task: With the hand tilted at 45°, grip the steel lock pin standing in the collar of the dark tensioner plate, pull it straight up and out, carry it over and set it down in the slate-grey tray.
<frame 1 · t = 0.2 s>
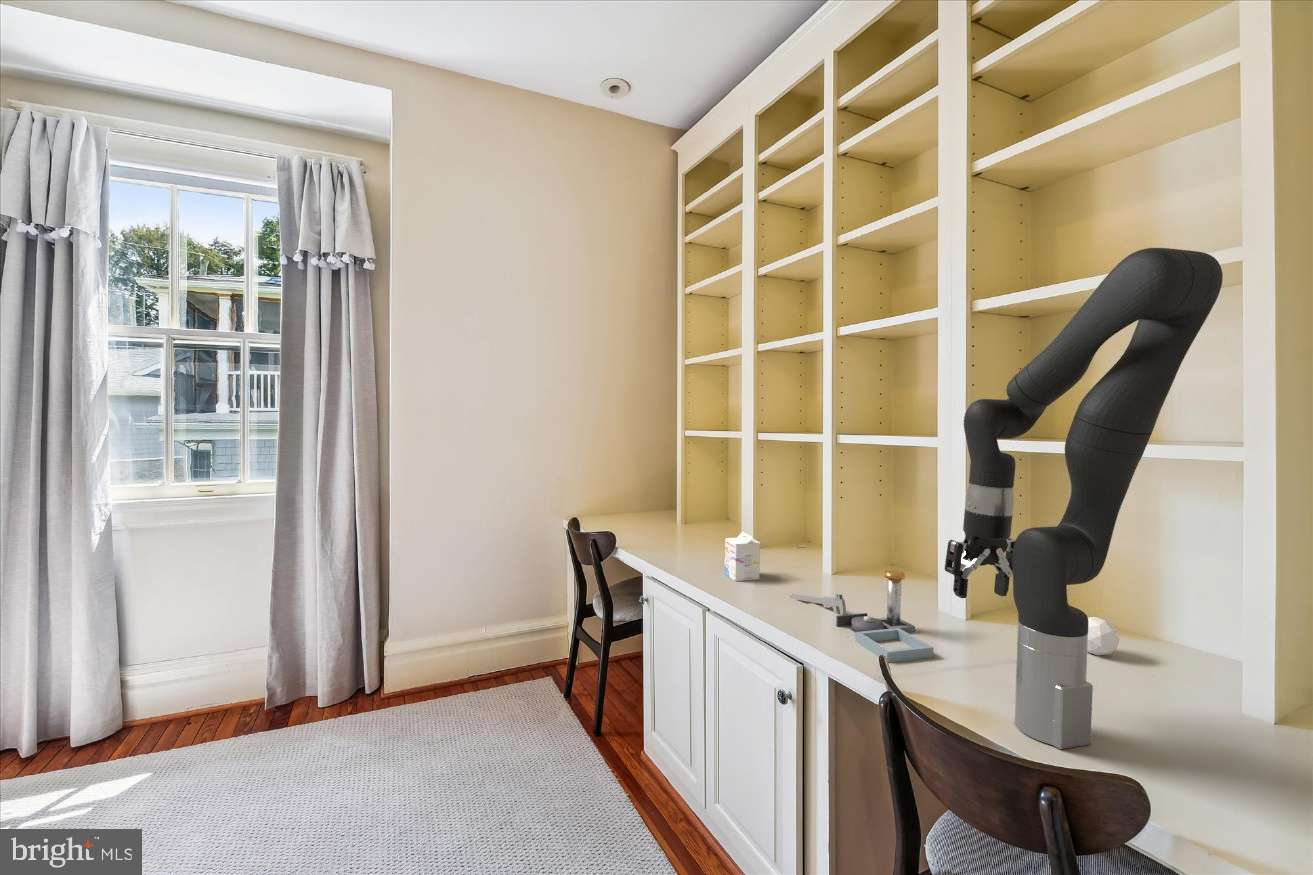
hand: (980, 595, 104), 18 cm above the table, tool pointing down, fingers open, 8 cm apart
lock pin: (893, 627, 134), point 1 cm above the table, touching tensioner plate
tray: (892, 653, 121), on the table
geometric ball: (1095, 653, 122), on the table
ink box: (741, 577, 178), on the table
caliper: (815, 609, 150), on the table
tensioner plate: (880, 633, 133), on the table
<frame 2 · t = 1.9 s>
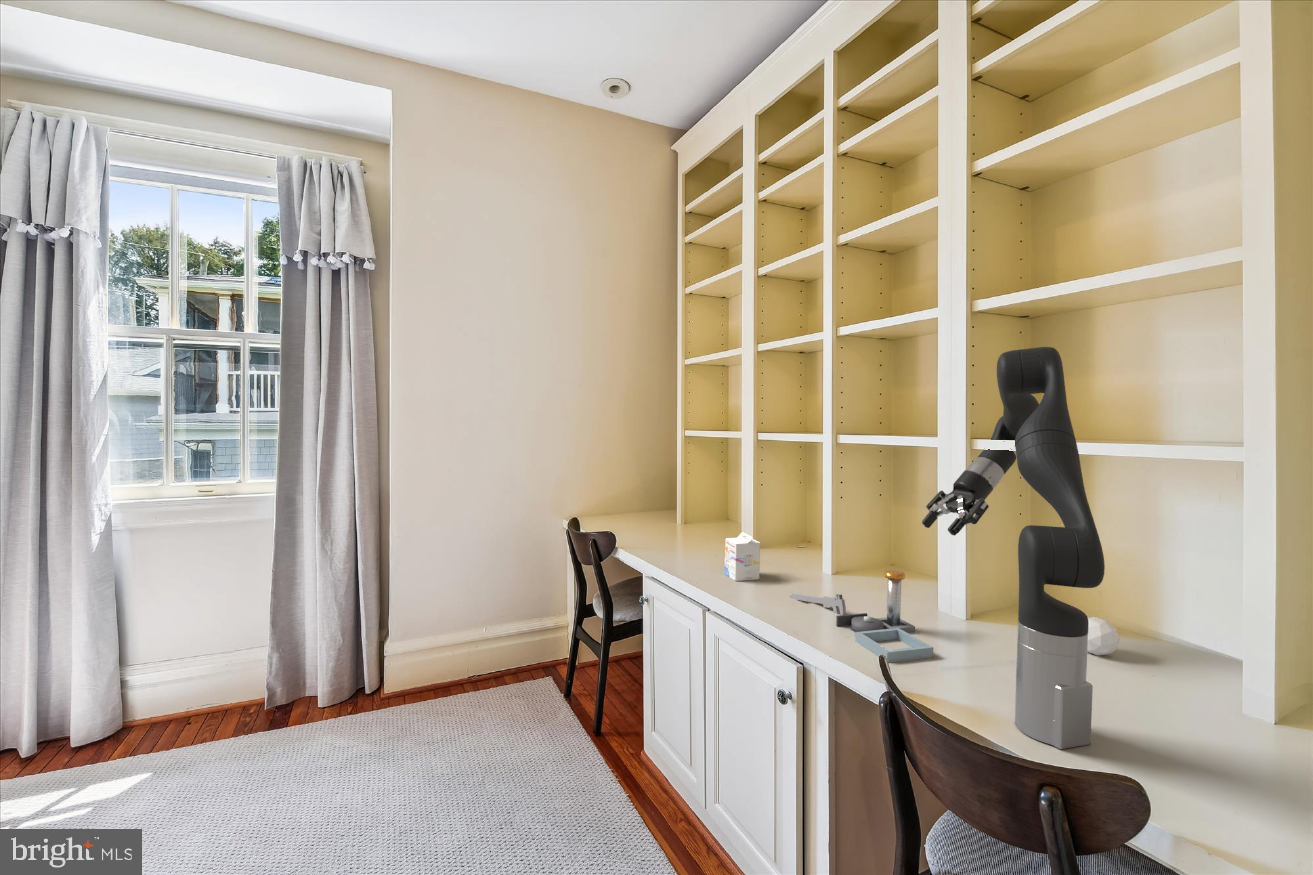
hand: (937, 529, 135), 24 cm above the table, tool tilted 45°, fingers open, 8 cm apart
nothing on the table moved.
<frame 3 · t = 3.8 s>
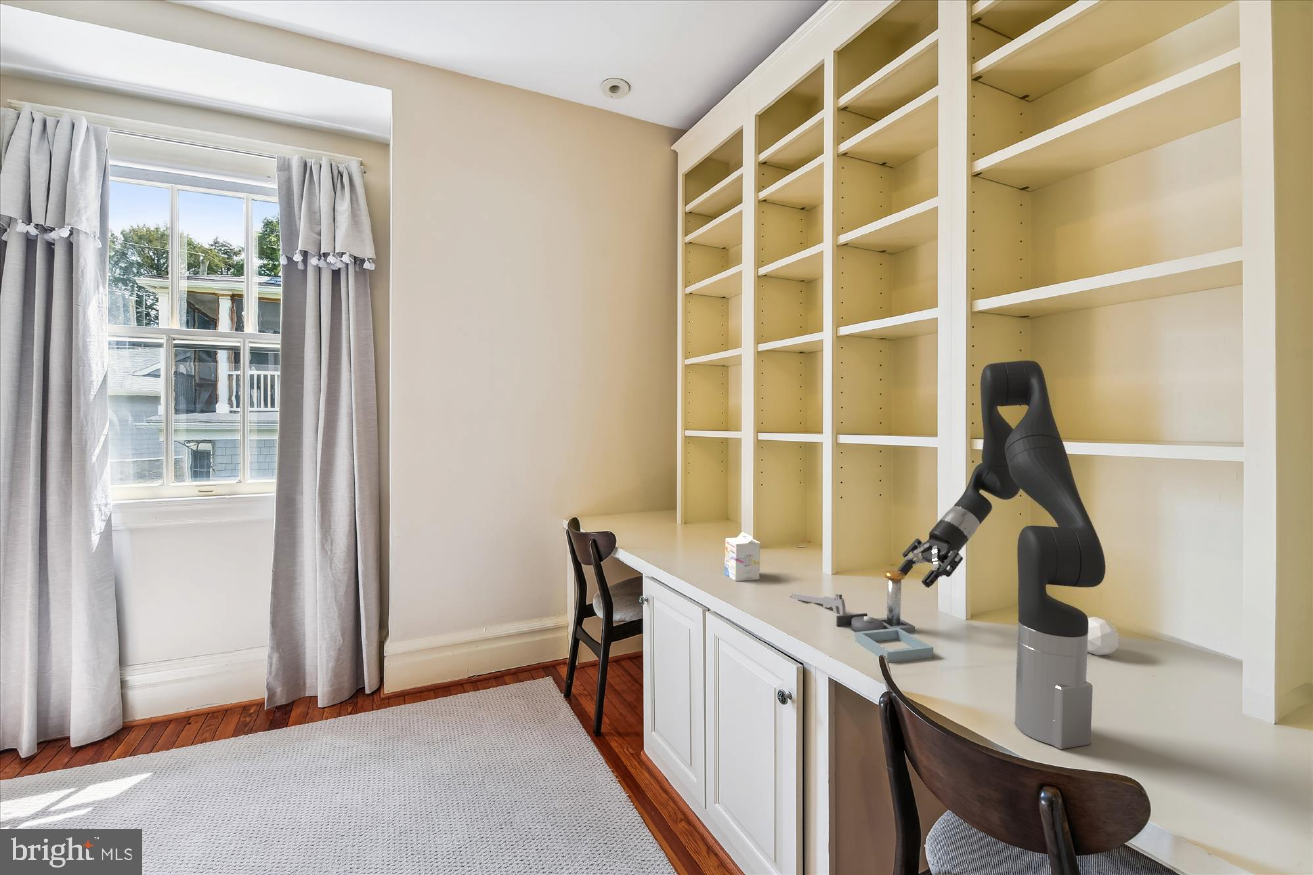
hand: (912, 579, 134), 12 cm above the table, tool tilted 45°, fingers open, 8 cm apart
nothing on the table moved.
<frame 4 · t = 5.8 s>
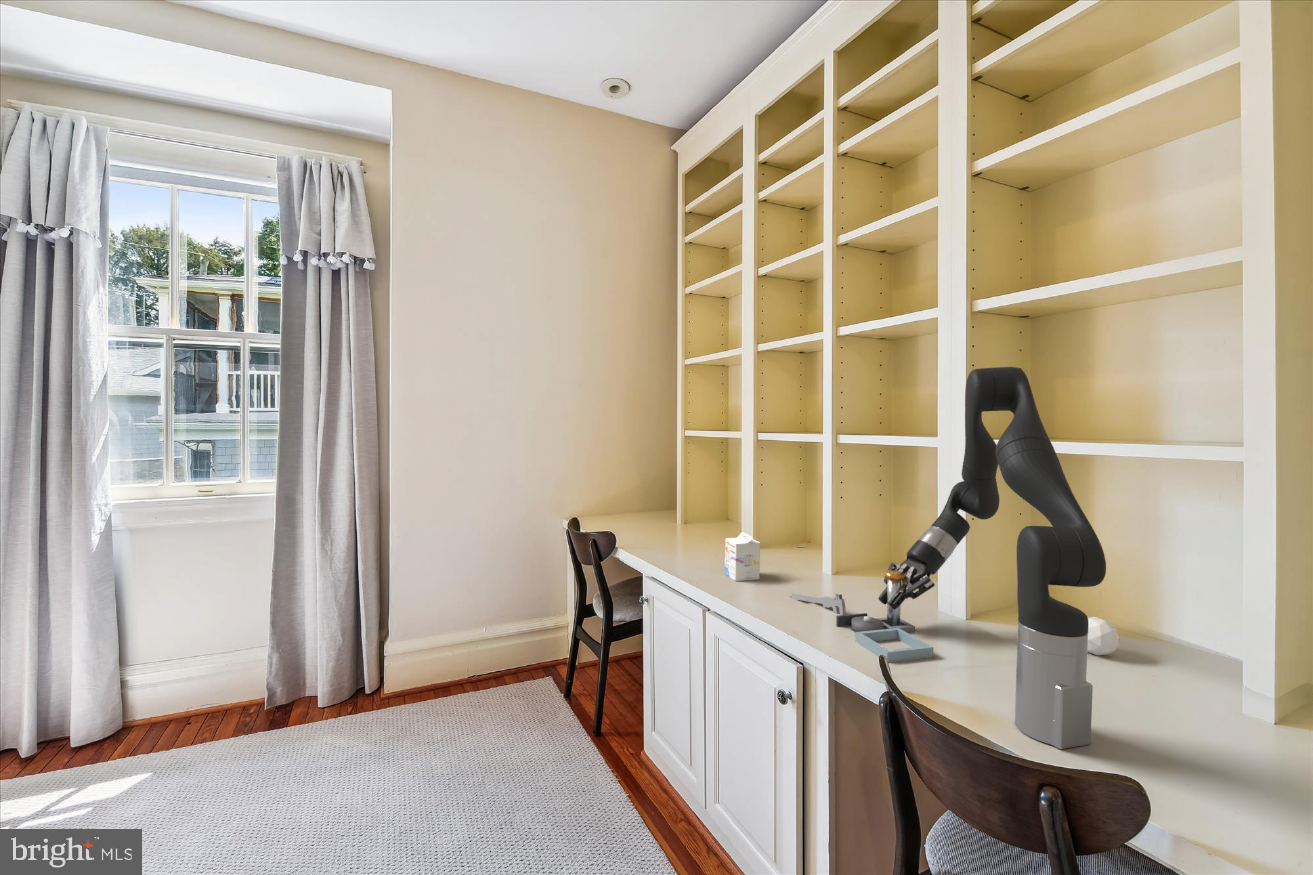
hand: (886, 604, 133), 7 cm above the table, tool tilted 45°, fingers closed on lock pin, 3 cm apart
lock pin: (893, 627, 134), point 1 cm above the table, touching gripper, tensioner plate
everything else where it was.
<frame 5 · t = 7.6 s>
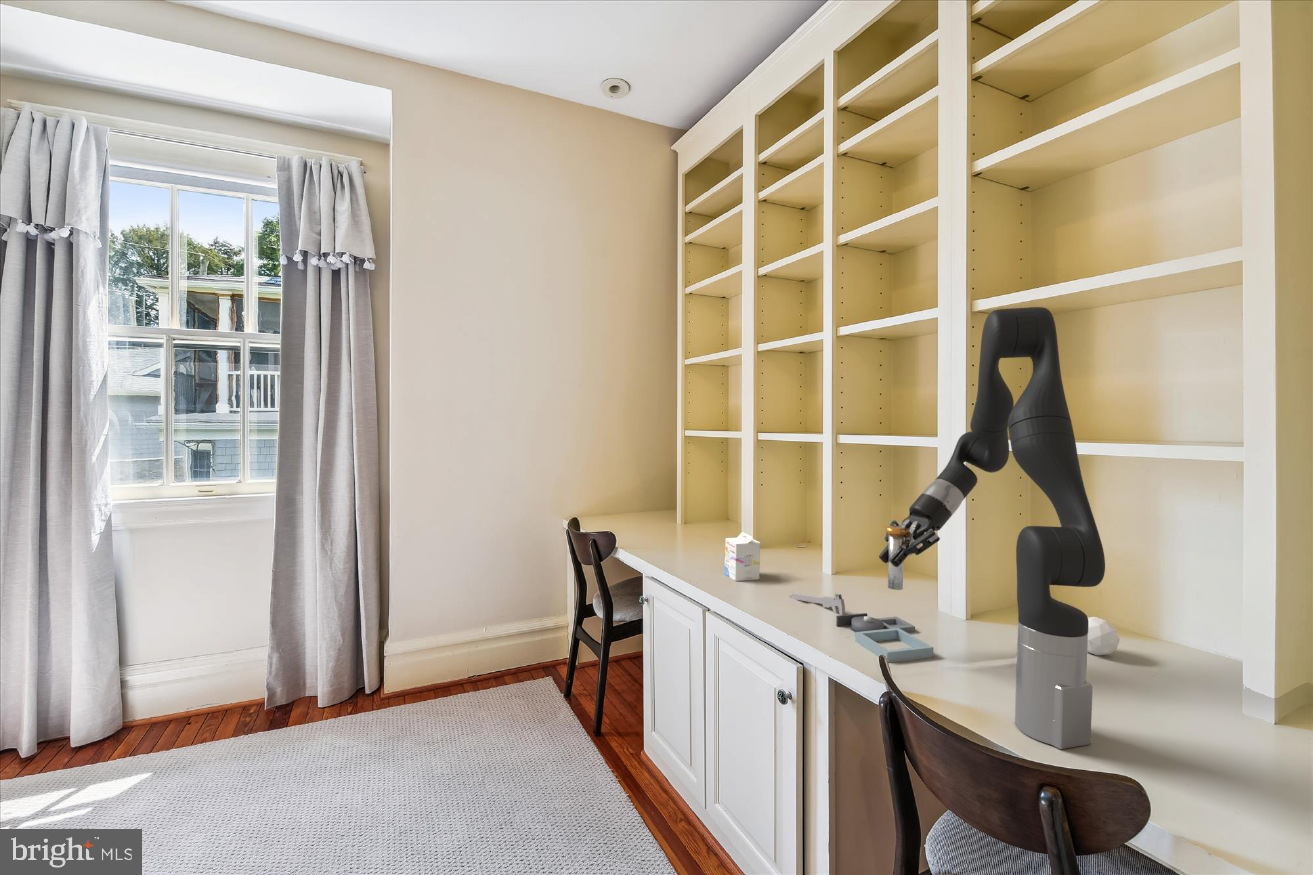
hand: (887, 561, 122), 19 cm above the table, tool tilted 45°, fingers closed on lock pin, 3 cm apart
lock pin: (895, 587, 123), point 14 cm above the table, touching gripper
everything else where it was.
when the fingers open (8 cm above the table, at t = 9.5 s): lock pin drops 2 cm, resting on tray.
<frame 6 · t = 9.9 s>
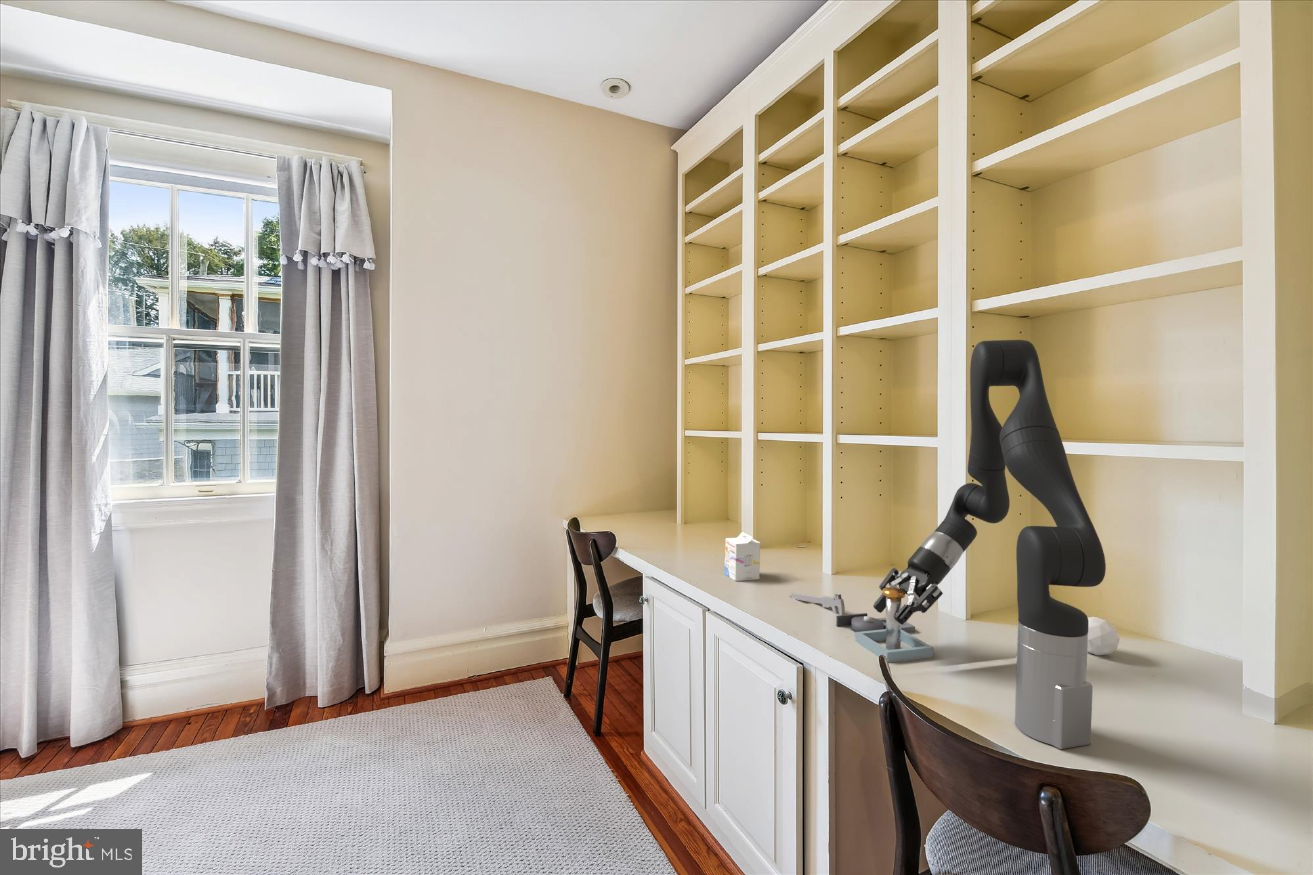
hand: (887, 615, 121), 8 cm above the table, tool tilted 45°, fingers open, 6 cm apart
lock pin: (893, 650, 121), point 1 cm above the table, touching tray
everything else where it was.
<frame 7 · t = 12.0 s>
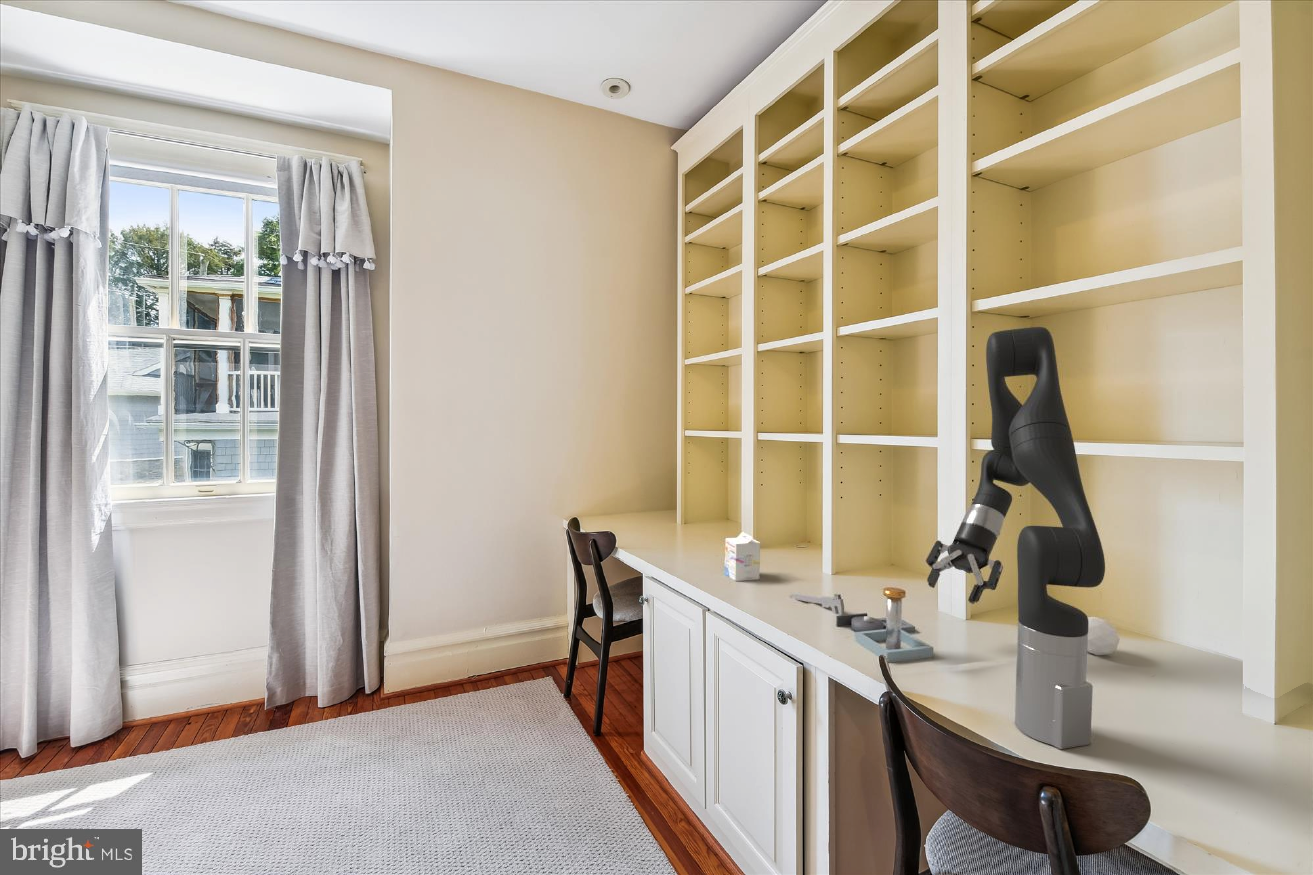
hand: (950, 594, 123), 12 cm above the table, tool tilted 35°, fingers open, 8 cm apart
nothing on the table moved.
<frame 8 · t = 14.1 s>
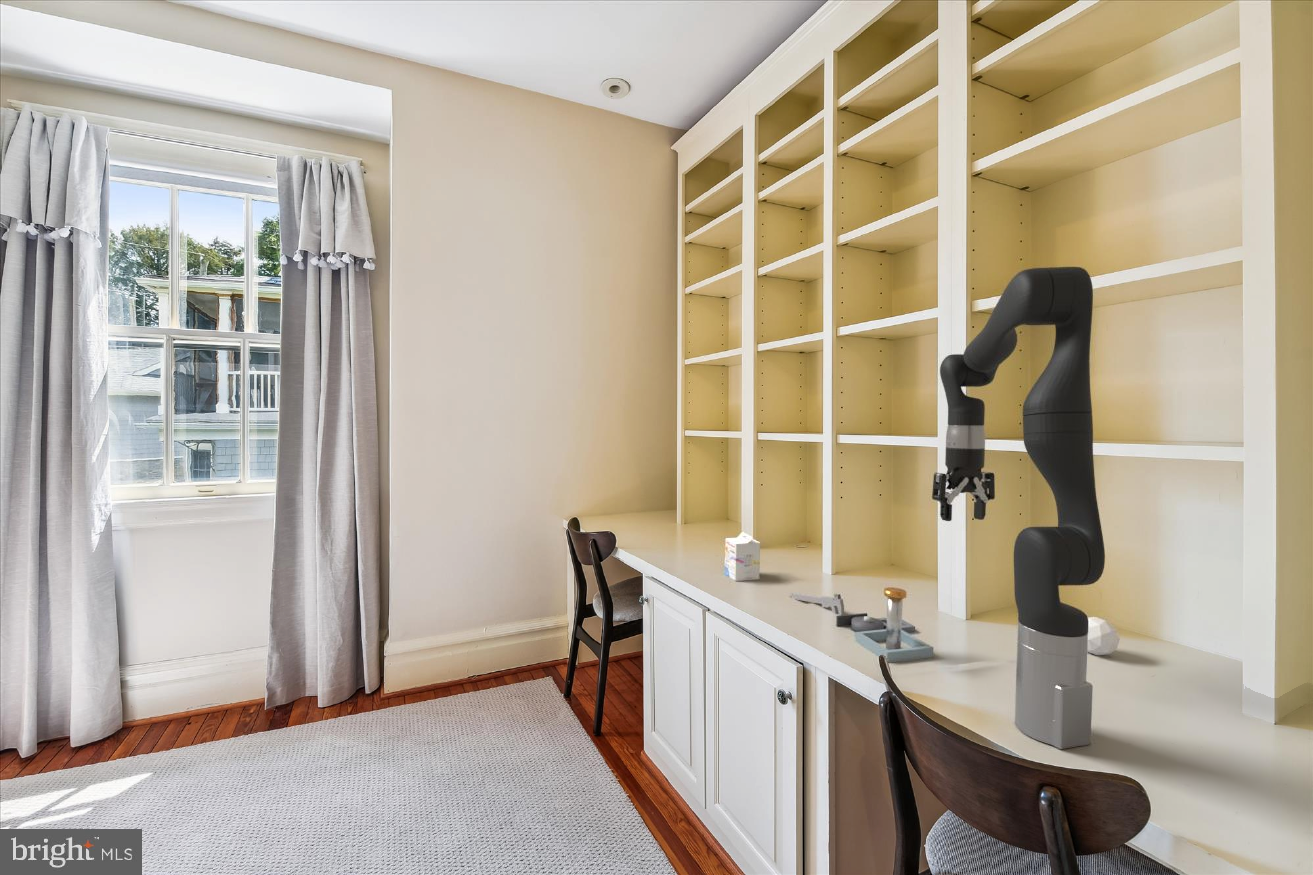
hand: (962, 519, 124), 28 cm above the table, tool pointing down, fingers open, 8 cm apart
nothing on the table moved.
at the end: lock pin inside the target area on the tray (0.1 cm from its centre), point 0.6 cm above the tray's base; the gripper is holding nothing; lock pin moved 13.1 cm from its start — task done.
